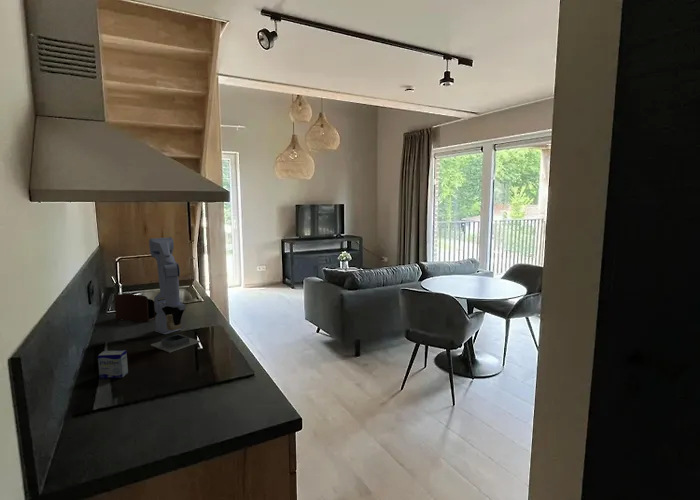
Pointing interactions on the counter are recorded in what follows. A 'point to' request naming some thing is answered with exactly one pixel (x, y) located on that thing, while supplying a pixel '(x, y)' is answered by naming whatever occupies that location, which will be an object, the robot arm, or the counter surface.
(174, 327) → the beige rectangular block
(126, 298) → the letter holder
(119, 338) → the counter surface
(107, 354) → the box
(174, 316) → the robot arm
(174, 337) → the socket plate
